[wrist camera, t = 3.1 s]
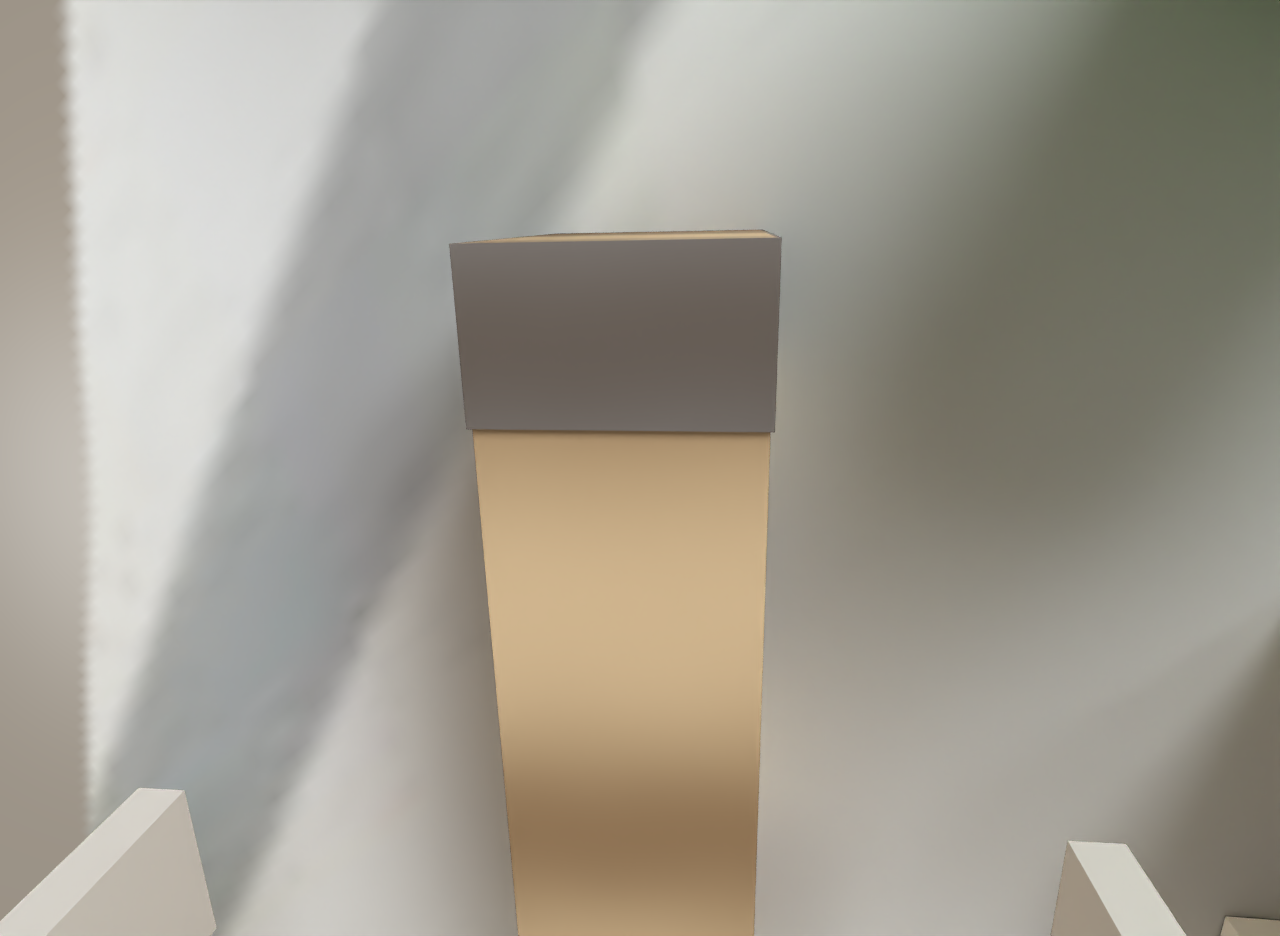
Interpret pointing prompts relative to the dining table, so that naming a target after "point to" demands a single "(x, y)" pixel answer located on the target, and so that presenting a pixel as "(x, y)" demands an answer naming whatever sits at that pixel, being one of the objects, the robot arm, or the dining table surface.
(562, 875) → the block
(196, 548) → the dining table surface
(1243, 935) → the headboard
